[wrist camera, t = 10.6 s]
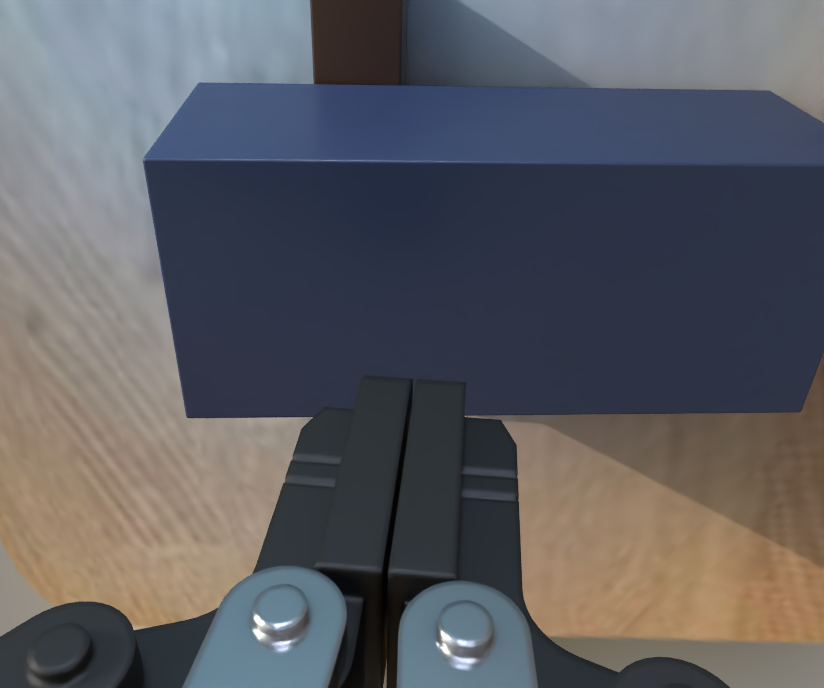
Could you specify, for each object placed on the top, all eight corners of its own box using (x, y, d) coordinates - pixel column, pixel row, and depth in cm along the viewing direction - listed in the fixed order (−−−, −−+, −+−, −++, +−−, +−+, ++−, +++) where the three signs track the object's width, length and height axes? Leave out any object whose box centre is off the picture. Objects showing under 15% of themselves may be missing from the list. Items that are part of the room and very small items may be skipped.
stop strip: (333, 341, 22) (325, 363, 21) (319, -37, 17) (308, -30, 16) (400, 346, 22) (395, 369, 21) (408, -33, 17) (402, -26, 16)
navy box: (186, 419, 16) (801, 413, 16) (141, 158, 13) (896, 165, 13) (224, 299, 20) (712, 298, 21) (198, 82, 17) (770, 89, 18)
